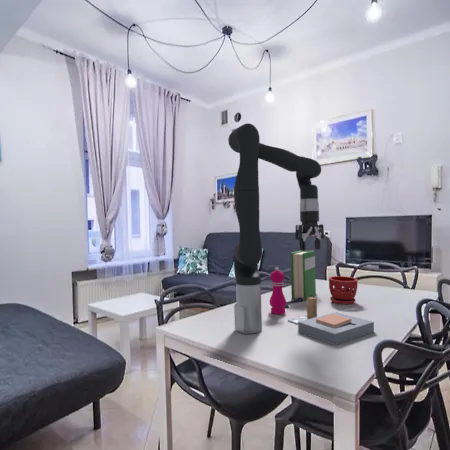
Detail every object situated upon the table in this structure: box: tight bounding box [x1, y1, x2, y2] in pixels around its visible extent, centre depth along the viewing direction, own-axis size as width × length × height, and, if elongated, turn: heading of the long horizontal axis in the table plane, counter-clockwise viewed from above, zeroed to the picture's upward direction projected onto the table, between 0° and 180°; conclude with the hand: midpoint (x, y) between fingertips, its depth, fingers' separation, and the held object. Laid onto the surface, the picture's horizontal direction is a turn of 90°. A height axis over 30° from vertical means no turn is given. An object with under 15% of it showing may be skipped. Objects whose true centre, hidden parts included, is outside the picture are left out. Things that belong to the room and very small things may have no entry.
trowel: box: [287, 296, 320, 325], centre depth 128 cm, size 14×7×9 cm, turn 122°
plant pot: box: [328, 275, 359, 306], centre depth 154 cm, size 13×13×12 cm
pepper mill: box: [269, 266, 287, 315], centre depth 139 cm, size 7×7×20 cm
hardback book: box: [290, 249, 317, 302], centre depth 169 cm, size 18×7×24 cm, turn 148°
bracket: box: [284, 297, 304, 309], centre depth 156 cm, size 14×15×3 cm
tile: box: [316, 313, 351, 328], centre depth 112 cm, size 9×8×1 cm
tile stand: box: [297, 311, 375, 346], centre depth 113 cm, size 21×16×4 cm
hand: (310, 249), depth 130 cm, fingers open, 8 cm apart
